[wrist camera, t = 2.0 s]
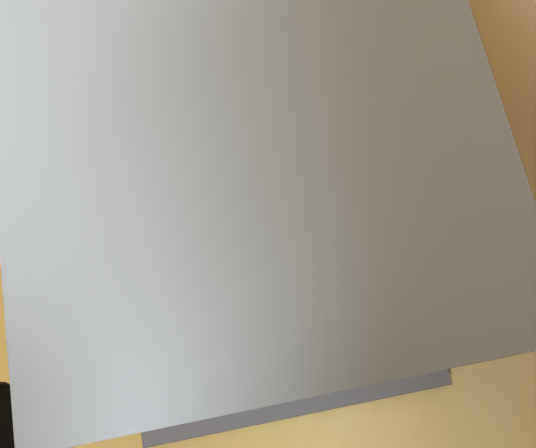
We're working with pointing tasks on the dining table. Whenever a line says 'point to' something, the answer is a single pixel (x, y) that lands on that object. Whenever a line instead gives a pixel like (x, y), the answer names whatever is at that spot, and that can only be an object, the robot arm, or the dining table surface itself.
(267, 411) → the mat
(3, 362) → the dining table surface
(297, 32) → the cover
